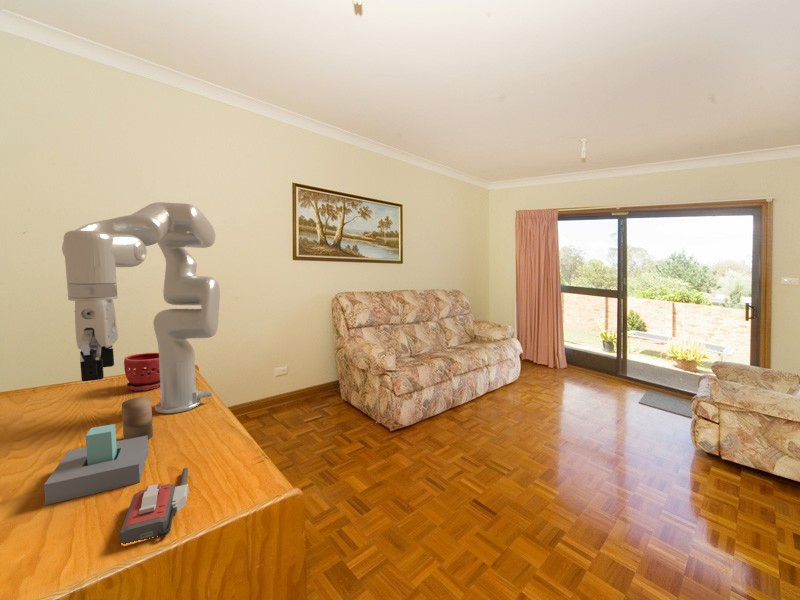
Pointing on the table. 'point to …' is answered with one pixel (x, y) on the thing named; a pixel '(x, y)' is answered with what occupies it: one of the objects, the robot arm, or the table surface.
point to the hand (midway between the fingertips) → (99, 373)
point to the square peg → (101, 444)
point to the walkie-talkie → (153, 511)
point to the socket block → (96, 471)
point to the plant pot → (142, 371)
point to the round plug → (137, 418)
